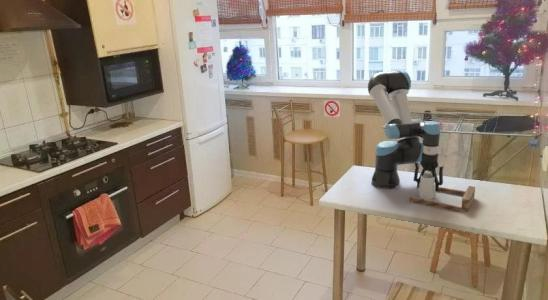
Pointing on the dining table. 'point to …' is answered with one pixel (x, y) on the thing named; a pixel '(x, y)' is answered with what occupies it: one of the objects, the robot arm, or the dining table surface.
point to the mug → (427, 186)
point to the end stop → (468, 198)
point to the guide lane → (440, 205)
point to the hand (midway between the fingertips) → (427, 195)
